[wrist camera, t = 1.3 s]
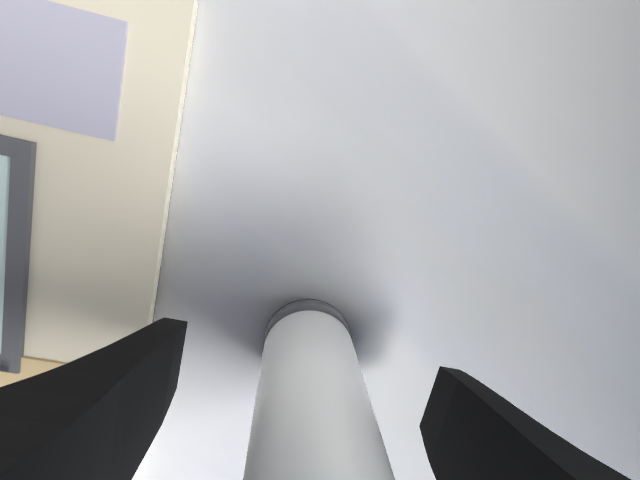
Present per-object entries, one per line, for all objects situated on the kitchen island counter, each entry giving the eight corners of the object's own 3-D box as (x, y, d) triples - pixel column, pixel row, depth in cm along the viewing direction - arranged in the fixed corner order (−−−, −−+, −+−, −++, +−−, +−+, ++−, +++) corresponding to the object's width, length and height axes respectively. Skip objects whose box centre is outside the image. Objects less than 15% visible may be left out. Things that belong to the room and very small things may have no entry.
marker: (339, 383, 13) (411, 751, 5) (256, 370, 12) (192, 743, 5) (359, 307, 12) (480, 590, 4) (273, 291, 12) (233, 565, 4)
